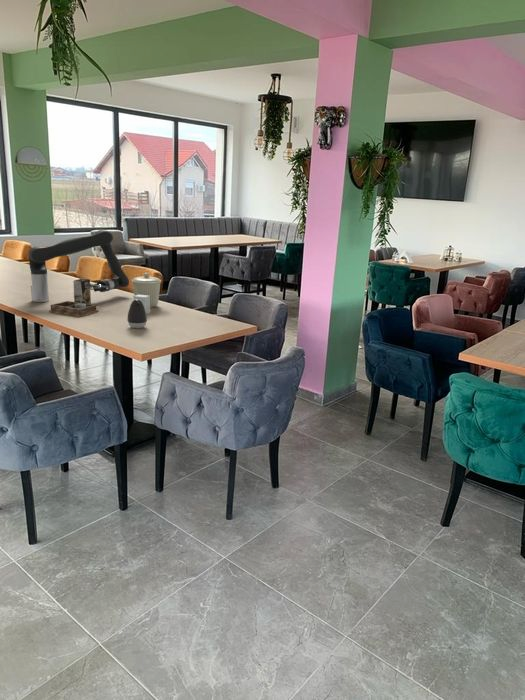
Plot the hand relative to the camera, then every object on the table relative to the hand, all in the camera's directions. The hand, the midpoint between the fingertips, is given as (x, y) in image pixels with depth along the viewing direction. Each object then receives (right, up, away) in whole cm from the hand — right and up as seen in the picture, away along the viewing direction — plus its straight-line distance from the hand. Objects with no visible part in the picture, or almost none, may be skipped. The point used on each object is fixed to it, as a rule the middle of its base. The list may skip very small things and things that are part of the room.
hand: (88, 289), depth 330 cm
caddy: (-3, -15, -18) cm, 24 cm away
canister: (+35, -10, +5) cm, 37 cm away
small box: (+36, -16, -13) cm, 41 cm away
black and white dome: (+41, -26, -45) cm, 66 cm away
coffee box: (-3, -11, -3) cm, 11 cm away
